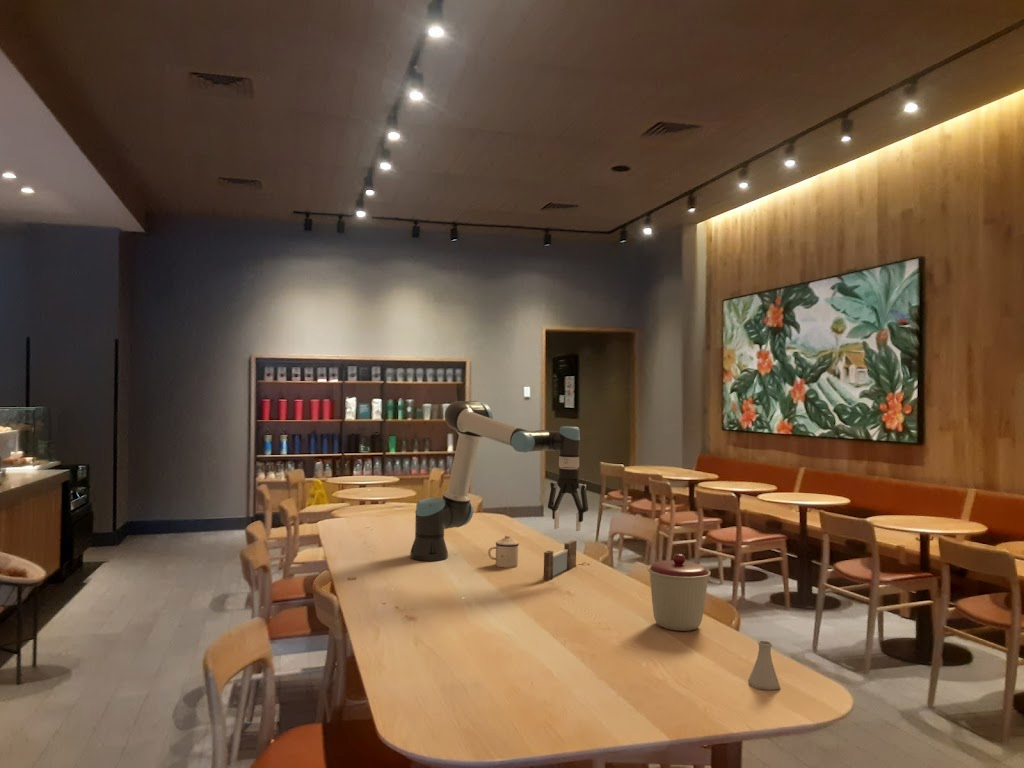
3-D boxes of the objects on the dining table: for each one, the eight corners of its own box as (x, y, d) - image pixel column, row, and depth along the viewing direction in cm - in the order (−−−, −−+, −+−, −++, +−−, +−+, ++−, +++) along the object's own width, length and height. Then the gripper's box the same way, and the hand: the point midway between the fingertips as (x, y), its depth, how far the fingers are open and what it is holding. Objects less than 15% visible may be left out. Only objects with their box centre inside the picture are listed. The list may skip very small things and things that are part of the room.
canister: (673, 639, 211) (675, 562, 212) (633, 621, 227) (635, 550, 228) (722, 631, 220) (724, 558, 220) (681, 614, 236) (683, 546, 236)
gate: (563, 568, 292) (564, 548, 292) (567, 569, 292) (567, 549, 292) (549, 575, 280) (550, 555, 280) (553, 576, 279) (553, 555, 279)
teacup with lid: (515, 562, 303) (515, 533, 303) (520, 567, 294) (521, 537, 295) (485, 563, 300) (486, 533, 301) (490, 568, 292) (491, 538, 292)
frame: (542, 580, 275) (543, 552, 276) (570, 565, 300) (571, 540, 300) (549, 580, 274) (549, 553, 274) (576, 566, 299) (577, 541, 299)
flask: (743, 679, 182) (743, 637, 182) (772, 679, 182) (773, 637, 183) (755, 691, 175) (756, 647, 175) (785, 691, 175) (786, 647, 175)
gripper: (539, 466, 285) (537, 528, 284) (591, 470, 276) (590, 533, 275) (547, 465, 291) (545, 525, 291) (598, 469, 282) (597, 530, 282)
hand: (567, 529), depth 283 cm, fingers open, 8 cm apart
